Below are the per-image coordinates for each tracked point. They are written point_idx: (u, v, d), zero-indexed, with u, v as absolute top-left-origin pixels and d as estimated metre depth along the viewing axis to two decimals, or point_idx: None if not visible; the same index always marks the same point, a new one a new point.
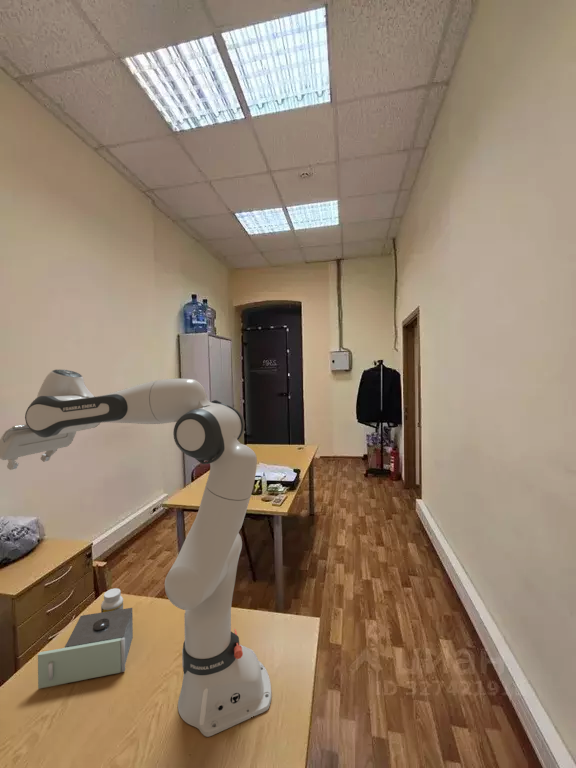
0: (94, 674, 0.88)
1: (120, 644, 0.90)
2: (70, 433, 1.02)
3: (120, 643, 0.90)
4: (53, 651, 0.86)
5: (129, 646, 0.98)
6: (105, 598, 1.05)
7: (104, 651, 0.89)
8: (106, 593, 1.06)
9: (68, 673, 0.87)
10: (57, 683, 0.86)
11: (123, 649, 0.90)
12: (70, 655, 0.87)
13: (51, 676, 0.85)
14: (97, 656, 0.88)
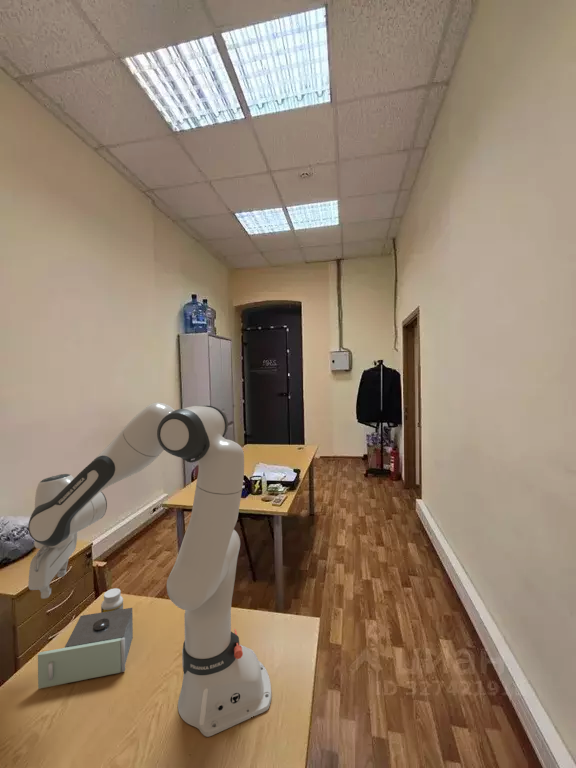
0: (94, 674, 0.88)
1: (120, 644, 0.90)
2: (73, 535, 0.99)
3: (120, 643, 0.90)
4: (53, 651, 0.86)
5: (129, 646, 0.98)
6: (105, 598, 1.05)
7: (104, 651, 0.89)
8: (106, 593, 1.06)
9: (68, 673, 0.87)
10: (57, 683, 0.86)
11: (123, 649, 0.90)
12: (70, 655, 0.87)
13: (51, 676, 0.85)
14: (97, 656, 0.88)
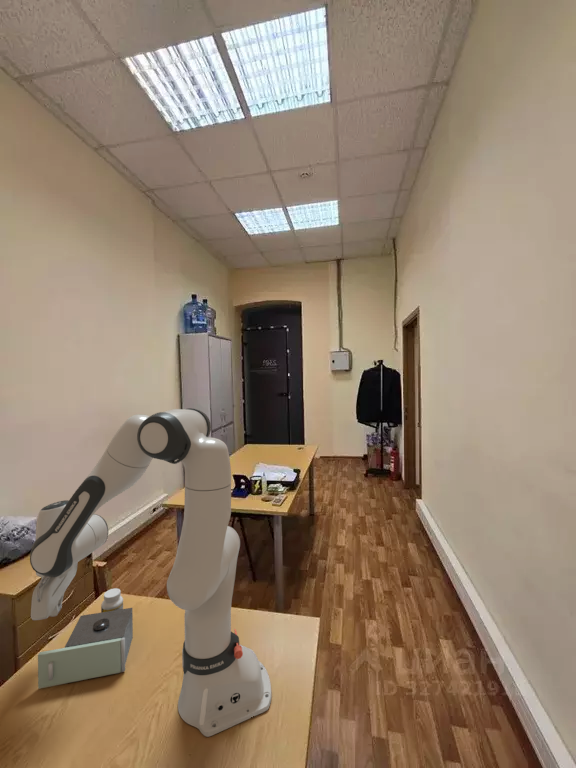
0: (94, 674, 0.88)
1: (120, 644, 0.90)
2: None
3: (120, 643, 0.90)
4: (53, 651, 0.86)
5: (129, 646, 0.98)
6: (105, 598, 1.05)
7: (104, 651, 0.89)
8: (106, 593, 1.06)
9: (68, 673, 0.87)
10: (57, 683, 0.86)
11: (123, 649, 0.90)
12: (70, 655, 0.87)
13: (51, 676, 0.85)
14: (97, 656, 0.88)
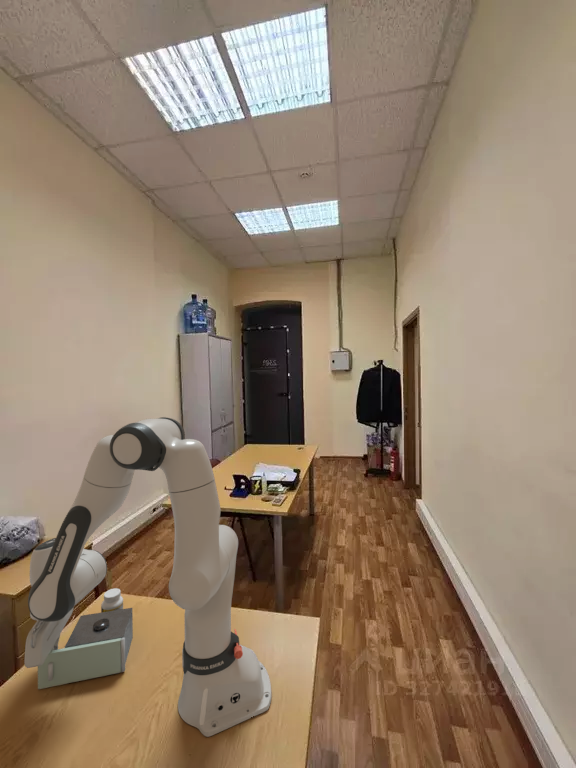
0: (94, 674, 0.88)
1: (120, 644, 0.90)
2: None
3: (120, 643, 0.90)
4: (53, 651, 0.86)
5: (129, 646, 0.98)
6: (105, 598, 1.05)
7: (104, 651, 0.89)
8: (106, 593, 1.06)
9: (68, 674, 0.86)
10: (57, 683, 0.86)
11: (123, 649, 0.90)
12: (70, 655, 0.87)
13: (51, 676, 0.85)
14: (97, 656, 0.88)
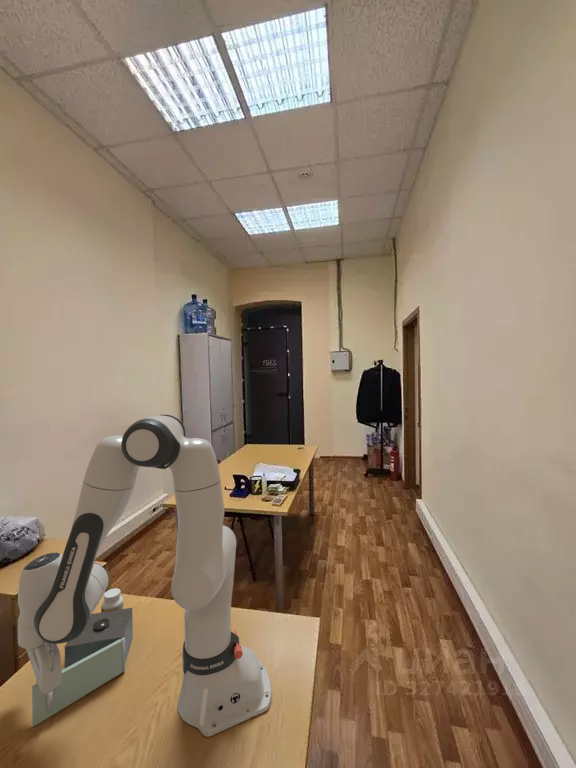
0: (95, 685, 0.85)
1: (121, 644, 0.89)
2: None
3: (121, 643, 0.89)
4: None
5: (129, 646, 0.98)
6: (105, 598, 1.05)
7: (106, 657, 0.87)
8: (106, 593, 1.06)
9: (68, 695, 0.81)
10: (55, 711, 0.79)
11: (124, 648, 0.90)
12: (70, 675, 0.81)
13: (51, 704, 0.77)
14: (99, 665, 0.85)
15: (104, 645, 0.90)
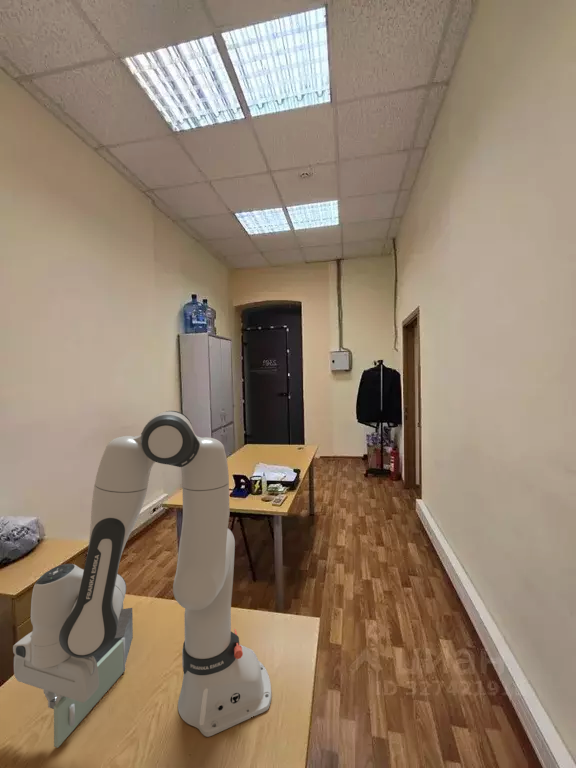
0: (104, 690, 0.83)
1: (122, 644, 0.90)
2: None
3: (122, 643, 0.90)
4: None
5: (129, 646, 0.98)
6: None
7: (112, 659, 0.86)
8: None
9: (84, 706, 0.78)
10: (75, 726, 0.75)
11: (124, 647, 0.90)
12: None
13: (74, 719, 0.74)
14: (107, 669, 0.84)
15: None
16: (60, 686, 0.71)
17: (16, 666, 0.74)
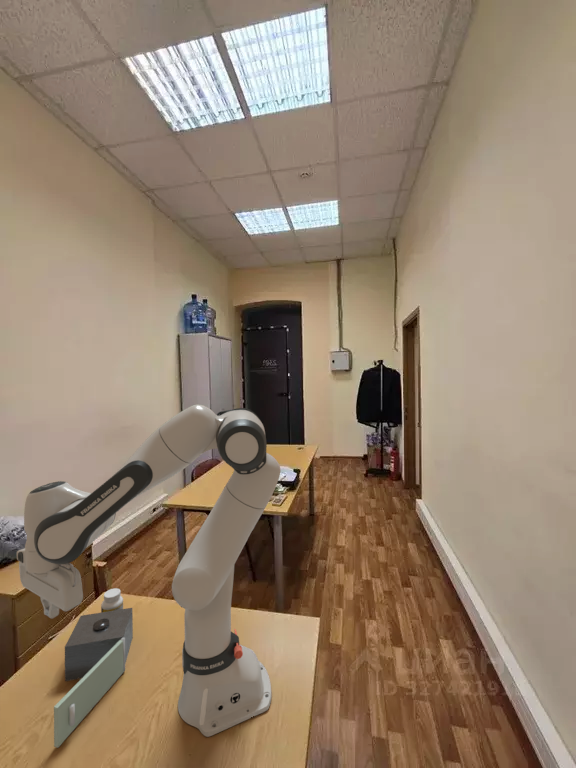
0: (104, 690, 0.83)
1: (122, 644, 0.90)
2: None
3: (122, 643, 0.90)
4: (69, 693, 0.74)
5: (129, 646, 0.98)
6: (105, 598, 1.05)
7: (112, 659, 0.86)
8: (106, 593, 1.06)
9: (84, 706, 0.78)
10: (75, 726, 0.75)
11: (124, 647, 0.90)
12: (86, 685, 0.78)
13: (74, 719, 0.74)
14: (107, 669, 0.84)
15: (104, 645, 0.90)
16: (49, 593, 0.74)
17: (21, 572, 0.79)
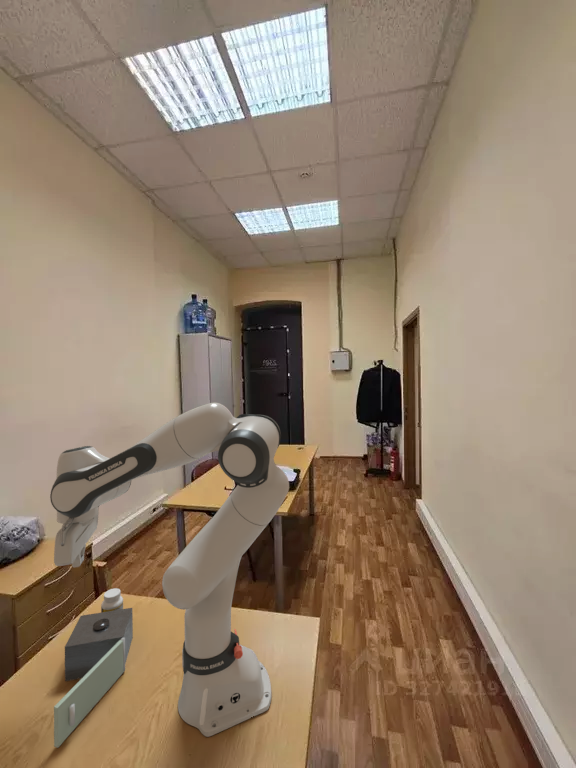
0: (104, 690, 0.83)
1: (122, 644, 0.90)
2: None
3: (122, 643, 0.90)
4: (69, 693, 0.74)
5: (129, 646, 0.98)
6: (105, 598, 1.05)
7: (112, 659, 0.86)
8: (106, 593, 1.06)
9: (84, 706, 0.78)
10: (75, 726, 0.75)
11: (124, 647, 0.90)
12: (86, 685, 0.78)
13: (74, 719, 0.74)
14: (107, 669, 0.84)
15: (104, 645, 0.90)
16: None
17: None
